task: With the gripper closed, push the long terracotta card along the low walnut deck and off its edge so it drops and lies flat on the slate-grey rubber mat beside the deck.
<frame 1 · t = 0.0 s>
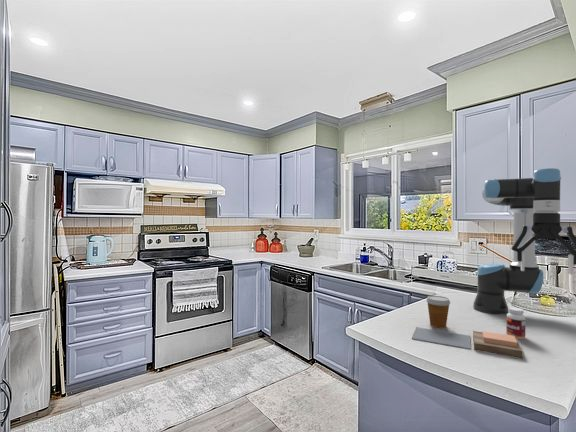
hand: (545, 272, 114), 28 cm above the counter, tool pointing down, fingers open, 13 cm apart
mat: (441, 337, 126), on the counter
disposable coffee cup: (438, 326, 140), on the counter
pill bottle: (515, 337, 128), on the counter
deck: (495, 346, 118), on the counter
card: (498, 340, 117), point 2 cm above the counter, touching deck
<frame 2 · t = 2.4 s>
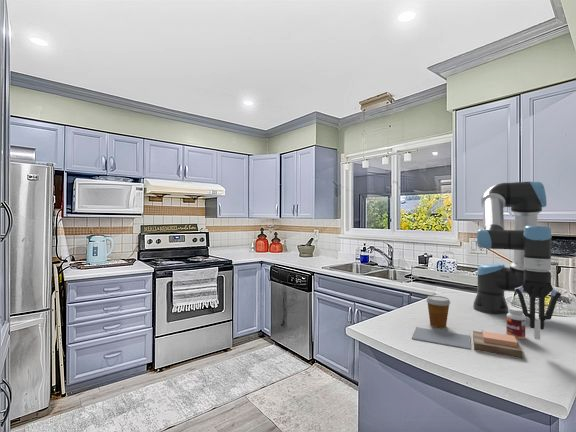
hand: (536, 338, 112), 6 cm above the counter, tool pointing down, fingers closed
nothing on the counter moved.
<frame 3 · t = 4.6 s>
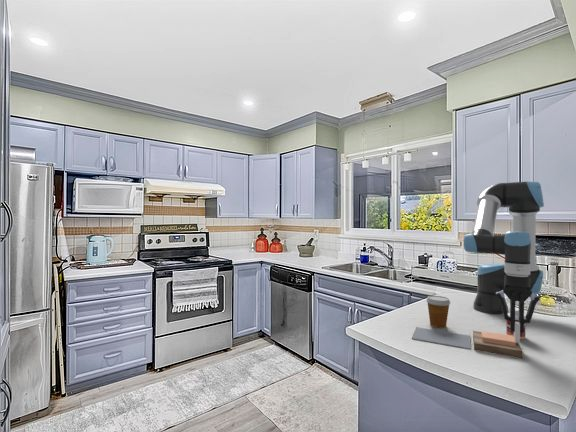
hand: (516, 340, 115), 3 cm above the counter, tool pointing down, fingers closed
card: (497, 340, 117), point 3 cm above the counter, touching deck, gripper
everything else where it was.
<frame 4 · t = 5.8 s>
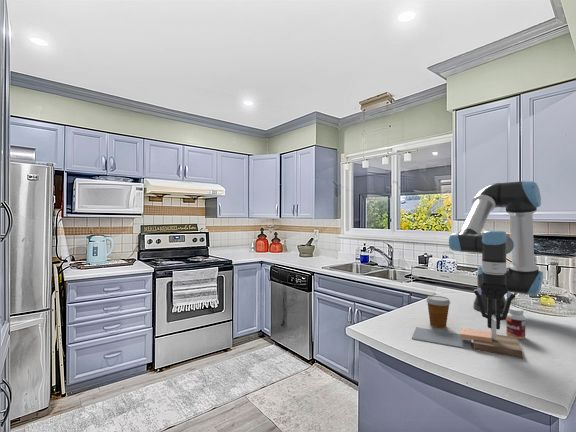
hand: (493, 337, 118), 3 cm above the counter, tool pointing down, fingers closed
card: (475, 336, 121), point 3 cm above the counter, touching gripper
everything else where it was.
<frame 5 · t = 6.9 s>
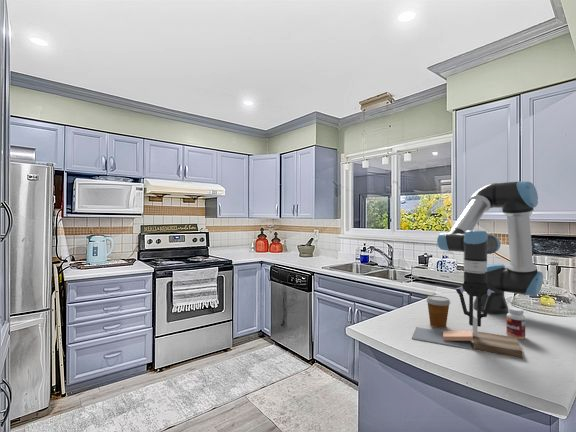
hand: (474, 334, 121), 3 cm above the counter, tool pointing down, fingers closed
card: (458, 337, 123), point 1 cm above the counter, tilted 10°
everything else where it was.
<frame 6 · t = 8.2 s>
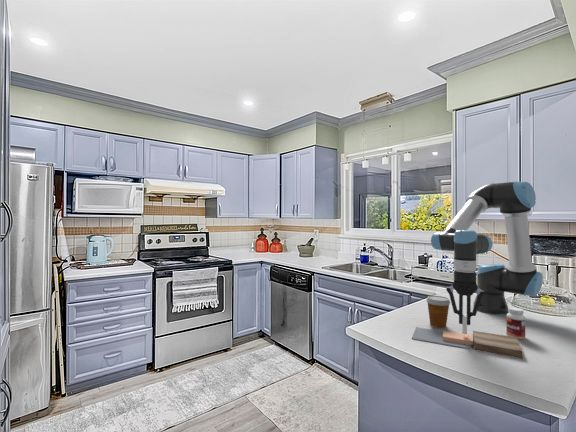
hand: (464, 332, 122), 3 cm above the counter, tool pointing down, fingers closed
card: (457, 339, 123), resting on mat
everything else where it was.
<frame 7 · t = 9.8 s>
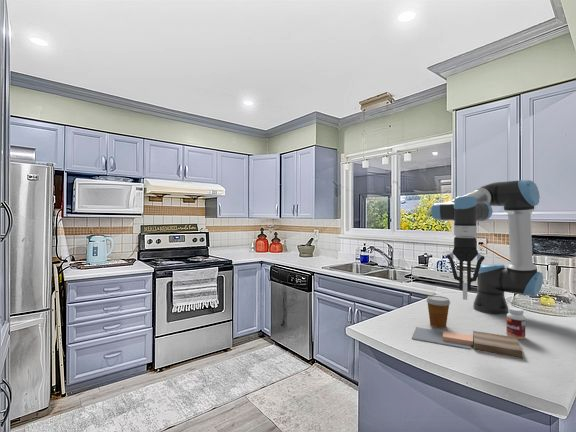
hand: (465, 298, 122), 16 cm above the counter, tool pointing down, fingers closed
nothing on the counter moved.
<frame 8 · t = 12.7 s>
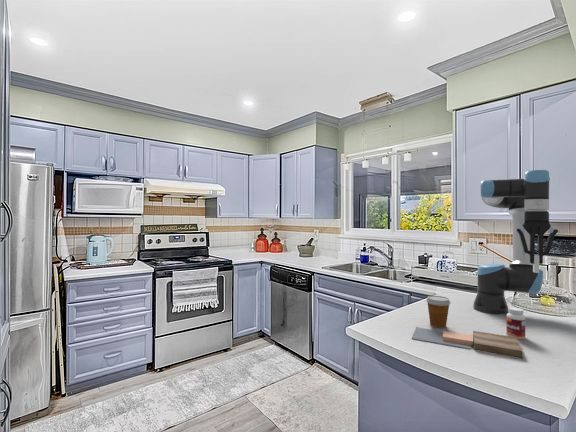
hand: (536, 272, 123), 26 cm above the counter, tool pointing down, fingers closed
nothing on the counter moved.
at the end: card resting on mat; card inside the target area (5.7 cm from its centre), resting on mat; card tilted 0° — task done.
